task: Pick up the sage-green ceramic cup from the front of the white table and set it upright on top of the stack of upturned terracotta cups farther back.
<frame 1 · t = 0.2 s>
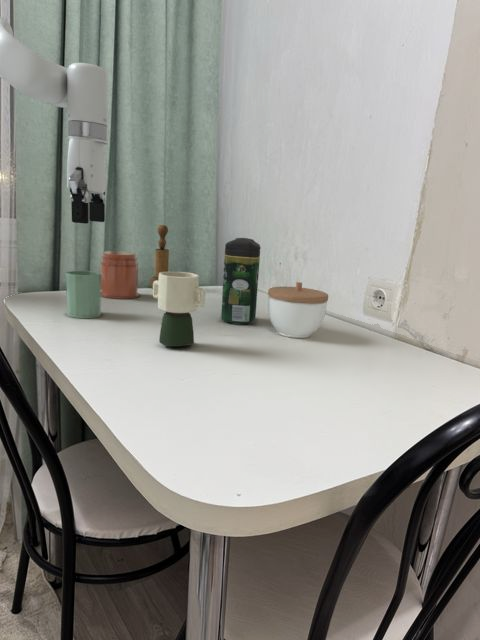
hand: (89, 222, 106), 19 cm above the table, tool pointing down, fingers open, 9 cm apart
cup: (84, 314, 109), on the table
coffee jar: (237, 321, 116), on the table
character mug: (176, 346, 92), on the table
lidded bowl: (294, 334, 108), on the table
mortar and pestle: (161, 287, 150), on the table
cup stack: (119, 295, 133), on the table
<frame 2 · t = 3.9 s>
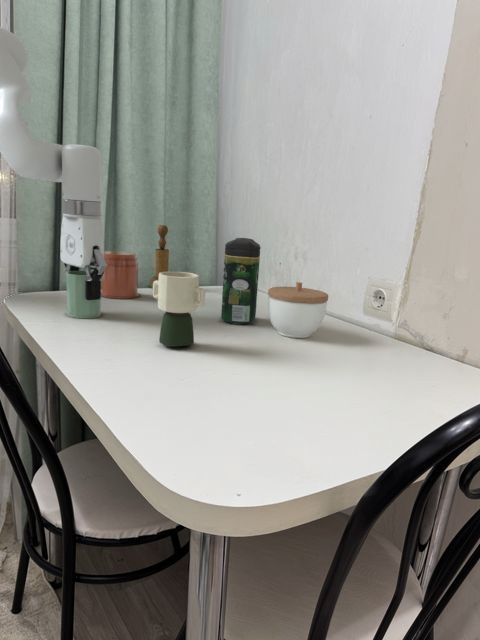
hand: (83, 295, 108), 4 cm above the table, tool pointing down, fingers closed on cup, 6 cm apart
cup: (84, 314, 109), on the table, touching gripper
everything else where it was.
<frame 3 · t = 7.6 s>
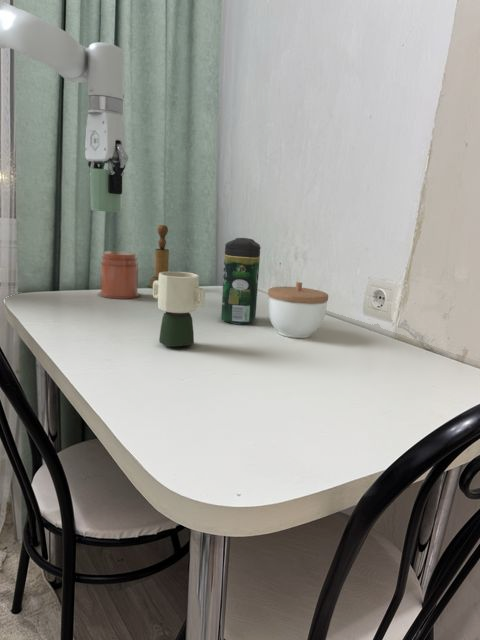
hand: (106, 192, 116), 26 cm above the table, tool pointing down, fingers closed on cup, 6 cm apart
cup: (106, 211, 117), point 22 cm above the table, touching gripper
everything else where it was.
when the fingers open (15 cm above the table, at t = 11.3 s): cup stays where it is, resting on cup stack.
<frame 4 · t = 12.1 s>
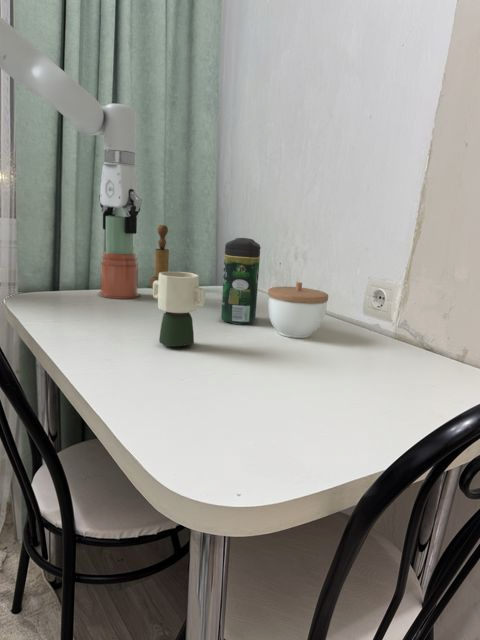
hand: (119, 231, 128), 16 cm above the table, tool pointing down, fingers open, 9 cm apart
cup: (119, 253, 130), point 11 cm above the table, touching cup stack
everything else where it was.
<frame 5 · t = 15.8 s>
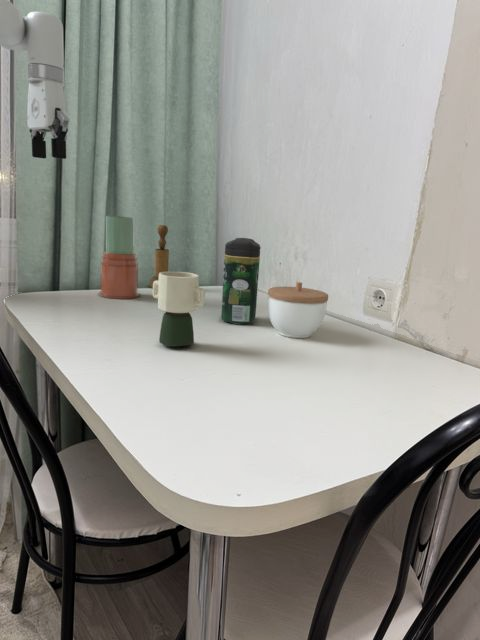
hand: (48, 157, 119), 32 cm above the table, tool pointing down, fingers open, 9 cm apart
nothing on the table moved.
at the end: cup 0.1 cm off-centre on the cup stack, point 11.0 cm above the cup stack's base; cup tilted 0°; the gripper is holding nothing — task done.
